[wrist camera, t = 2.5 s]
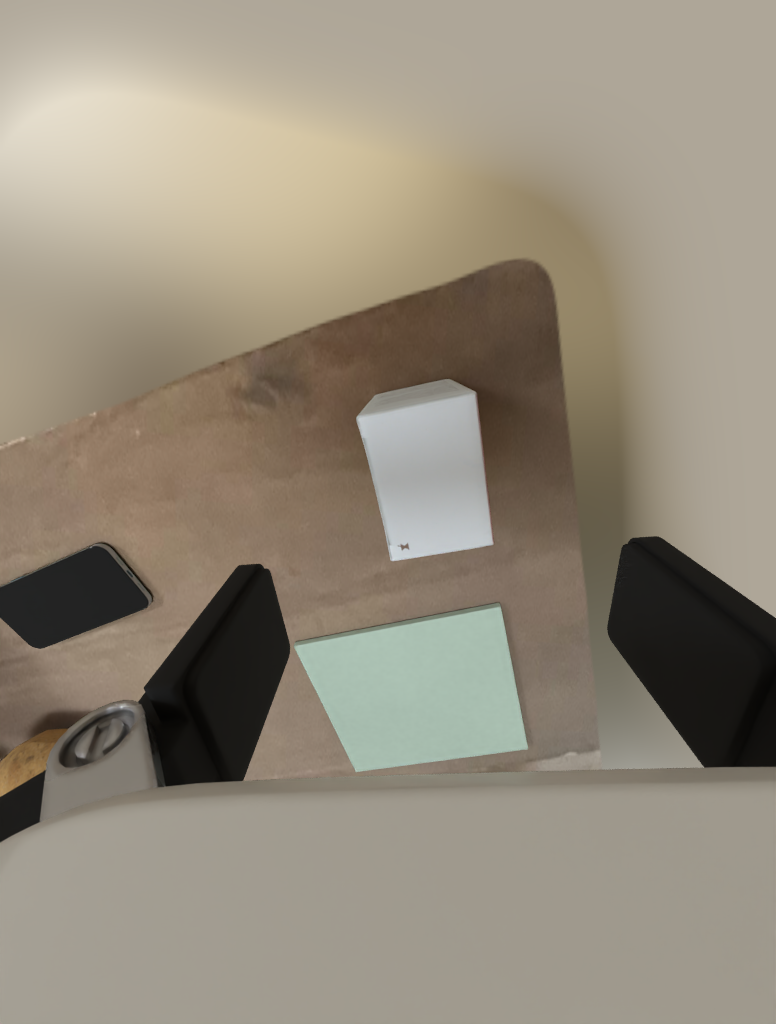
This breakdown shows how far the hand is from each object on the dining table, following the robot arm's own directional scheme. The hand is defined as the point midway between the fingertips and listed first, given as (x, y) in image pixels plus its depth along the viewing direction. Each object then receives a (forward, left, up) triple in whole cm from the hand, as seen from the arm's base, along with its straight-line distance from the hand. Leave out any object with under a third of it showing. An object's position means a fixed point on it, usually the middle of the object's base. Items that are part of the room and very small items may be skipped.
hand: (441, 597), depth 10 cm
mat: (+2, +27, -19) cm, 33 cm away
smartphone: (+34, +12, -19) cm, 41 cm away
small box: (0, 0, -19) cm, 19 cm away
